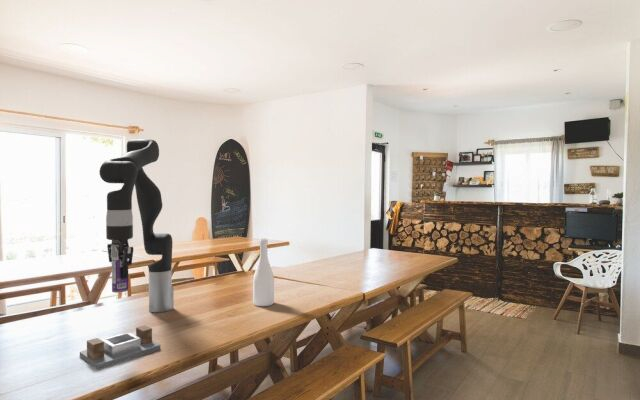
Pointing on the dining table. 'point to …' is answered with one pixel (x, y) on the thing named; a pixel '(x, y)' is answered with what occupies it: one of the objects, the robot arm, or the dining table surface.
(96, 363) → the base board
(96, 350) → the walnut blocks
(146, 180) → the robot arm
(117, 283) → the container
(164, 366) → the dining table surface
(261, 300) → the wine bottle
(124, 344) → the socket
